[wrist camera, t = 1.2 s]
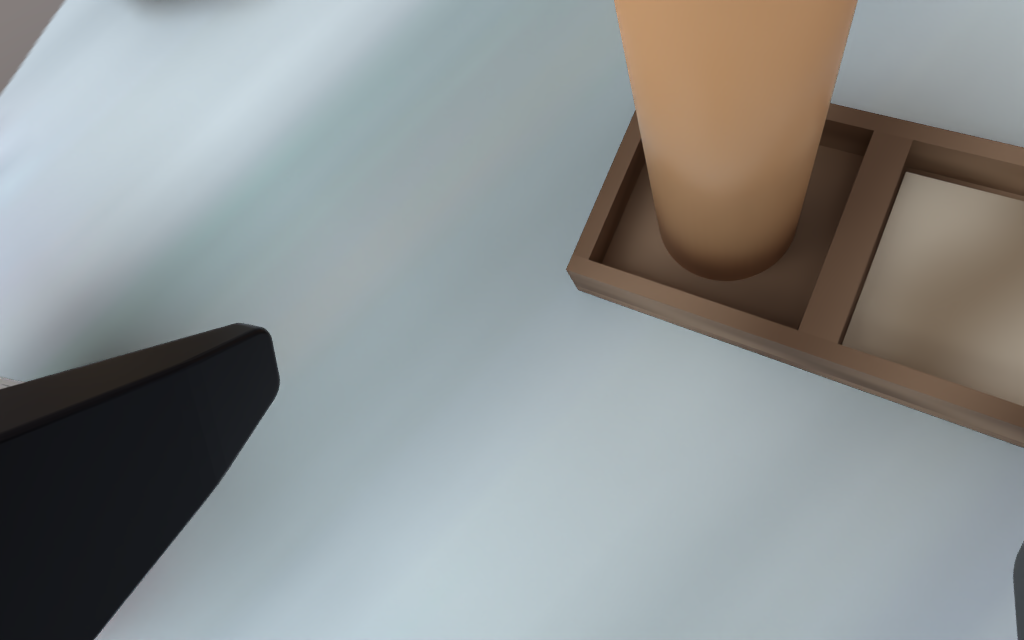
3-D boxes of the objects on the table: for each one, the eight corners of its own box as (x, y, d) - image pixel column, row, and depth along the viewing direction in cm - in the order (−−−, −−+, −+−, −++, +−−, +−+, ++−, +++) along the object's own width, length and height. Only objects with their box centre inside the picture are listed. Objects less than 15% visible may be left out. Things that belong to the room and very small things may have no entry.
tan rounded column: (813, 264, 21) (1047, -371, 6) (673, 293, 22) (577, -201, 7) (778, 142, 22) (905, -637, 7) (647, 175, 23) (519, -464, 8)
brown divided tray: (1162, 222, 19) (1209, 190, 18) (1084, 469, 18) (1126, 463, 17) (660, 98, 24) (655, 63, 22) (578, 289, 23) (566, 269, 21)
